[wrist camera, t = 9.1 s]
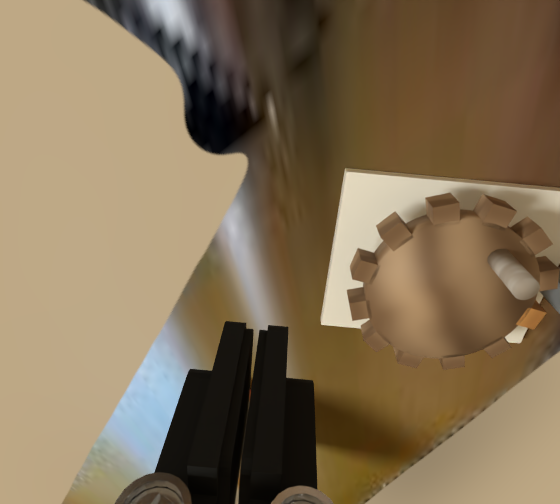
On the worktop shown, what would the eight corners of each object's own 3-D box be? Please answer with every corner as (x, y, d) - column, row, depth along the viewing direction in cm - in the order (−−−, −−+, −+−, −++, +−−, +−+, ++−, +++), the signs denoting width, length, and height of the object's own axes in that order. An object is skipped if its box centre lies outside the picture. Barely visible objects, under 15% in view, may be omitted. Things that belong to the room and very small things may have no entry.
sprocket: (518, 155, 34) (569, 185, 27) (561, 316, 42) (609, 368, 35) (315, 246, 39) (318, 289, 33) (388, 374, 47) (401, 429, 40)
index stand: (345, 167, 40) (356, 202, 32) (592, 190, 40) (667, 231, 32) (320, 318, 49) (324, 374, 41) (521, 337, 49) (564, 397, 41)
